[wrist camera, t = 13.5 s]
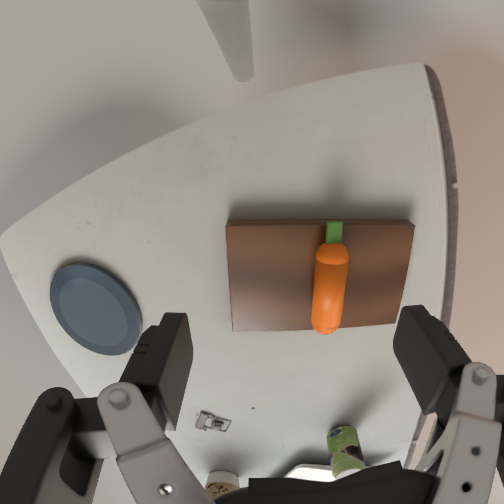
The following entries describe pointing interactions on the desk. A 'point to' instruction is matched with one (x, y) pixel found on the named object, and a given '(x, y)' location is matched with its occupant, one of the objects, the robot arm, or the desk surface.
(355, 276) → the cutting board
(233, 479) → the coffee cup
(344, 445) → the beverage can
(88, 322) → the slate plate
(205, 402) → the desk surface
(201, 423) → the metal mounting bracket
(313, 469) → the square plate
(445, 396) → the robot arm
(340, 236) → the carrot
